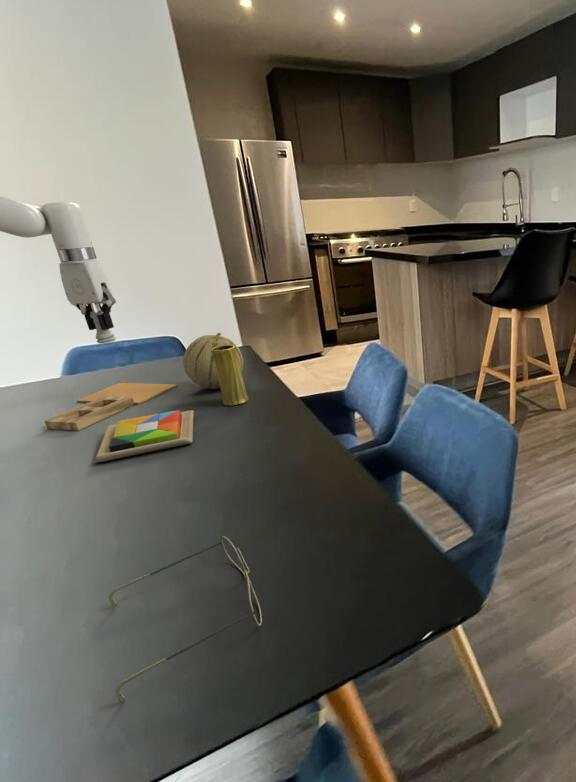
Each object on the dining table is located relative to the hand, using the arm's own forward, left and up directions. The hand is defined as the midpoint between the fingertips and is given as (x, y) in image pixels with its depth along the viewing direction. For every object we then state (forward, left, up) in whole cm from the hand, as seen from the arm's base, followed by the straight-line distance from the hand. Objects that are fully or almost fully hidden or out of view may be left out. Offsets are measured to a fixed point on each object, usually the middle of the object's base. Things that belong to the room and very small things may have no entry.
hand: (101, 328), depth 129 cm
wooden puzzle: (+32, -25, -19) cm, 44 cm away
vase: (+38, -3, -19) cm, 42 cm away
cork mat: (+2, 0, -19) cm, 19 cm away
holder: (+6, -15, -19) cm, 24 cm away
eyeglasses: (+77, -68, -19) cm, 104 cm away
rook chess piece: (0, 0, -4) cm, 4 cm away
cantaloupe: (+26, +7, -19) cm, 33 cm away
